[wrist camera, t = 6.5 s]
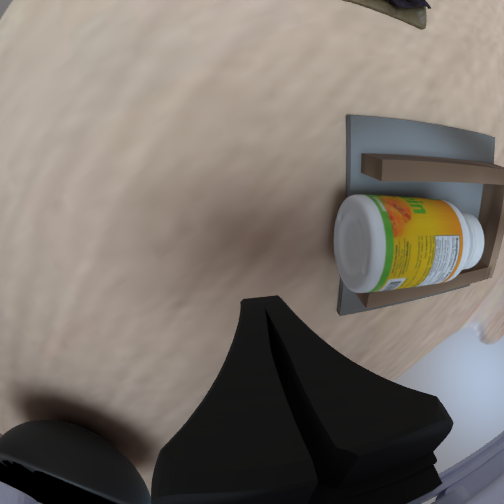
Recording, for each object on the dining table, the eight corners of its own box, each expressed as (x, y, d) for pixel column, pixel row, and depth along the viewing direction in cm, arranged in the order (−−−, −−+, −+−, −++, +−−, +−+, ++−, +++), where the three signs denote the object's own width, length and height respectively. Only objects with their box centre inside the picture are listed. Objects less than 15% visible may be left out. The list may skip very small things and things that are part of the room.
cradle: (465, 282, 22) (485, 299, 20) (336, 311, 21) (352, 337, 19) (490, 136, 16) (516, 142, 14) (346, 114, 15) (371, 115, 12)
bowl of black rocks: (-10, 370, 21) (-61, 491, 4) (136, 398, 23) (119, 582, 7) (53, 451, 29) (36, 544, 12) (169, 472, 32) (172, 580, 15)
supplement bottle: (335, 186, 17) (447, 194, 18) (327, 269, 19) (436, 261, 20) (381, 206, 12) (499, 213, 13) (363, 313, 14) (480, 291, 15)
